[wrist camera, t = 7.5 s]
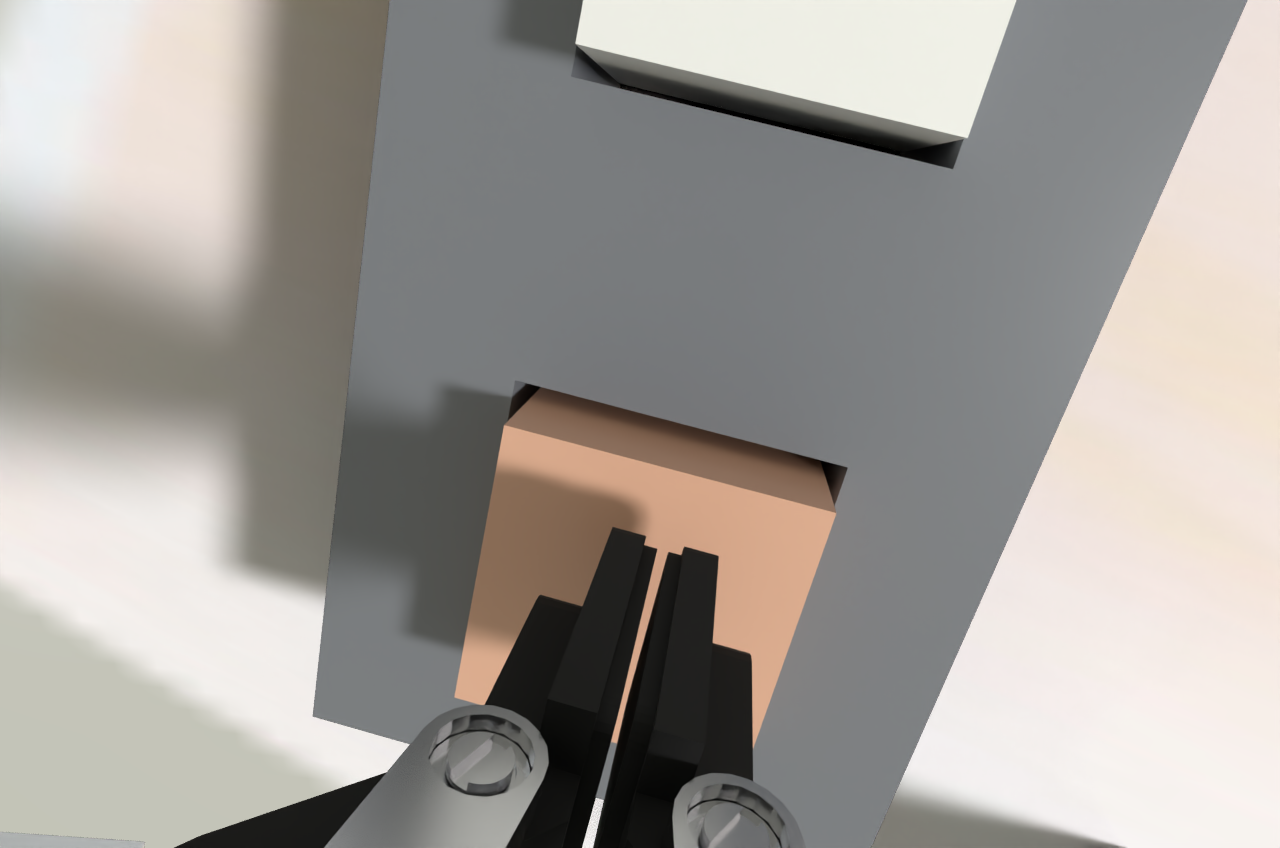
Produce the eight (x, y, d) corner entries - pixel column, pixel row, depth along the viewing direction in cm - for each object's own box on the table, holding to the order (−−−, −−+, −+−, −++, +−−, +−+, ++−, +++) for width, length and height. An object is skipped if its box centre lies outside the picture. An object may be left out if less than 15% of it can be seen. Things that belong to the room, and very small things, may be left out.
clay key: (560, 367, 16) (504, 425, 12) (811, 433, 15) (836, 513, 12) (516, 586, 17) (453, 697, 14) (740, 647, 17) (742, 779, 13)
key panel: (555, -442, 13) (469, -742, 9) (1235, -298, 13) (1490, -546, 8) (401, 605, 20) (312, 716, 16) (833, 724, 20) (859, 873, 15)
